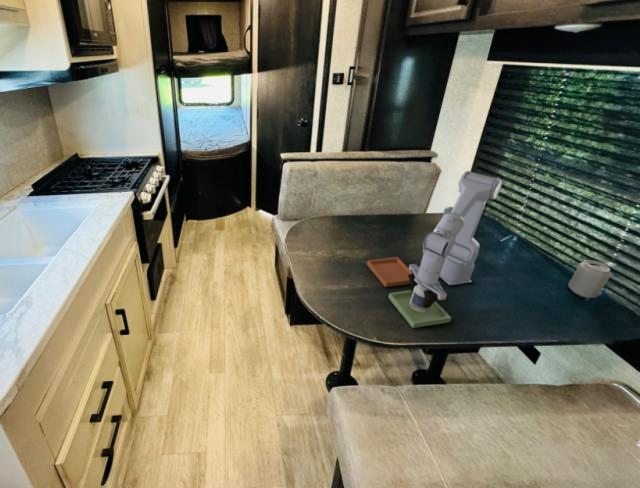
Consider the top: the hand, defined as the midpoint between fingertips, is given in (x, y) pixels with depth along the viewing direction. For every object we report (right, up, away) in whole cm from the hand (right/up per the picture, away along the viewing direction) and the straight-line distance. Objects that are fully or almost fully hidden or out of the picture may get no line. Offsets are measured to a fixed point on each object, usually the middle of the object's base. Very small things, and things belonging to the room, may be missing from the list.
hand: (420, 300), depth 104 cm
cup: (+40, +17, +46) cm, 64 cm away
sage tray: (0, -4, +2) cm, 4 cm away
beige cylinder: (+63, 0, +8) cm, 63 cm away
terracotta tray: (-1, +4, +18) cm, 19 cm away
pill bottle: (0, -3, +1) cm, 3 cm away
